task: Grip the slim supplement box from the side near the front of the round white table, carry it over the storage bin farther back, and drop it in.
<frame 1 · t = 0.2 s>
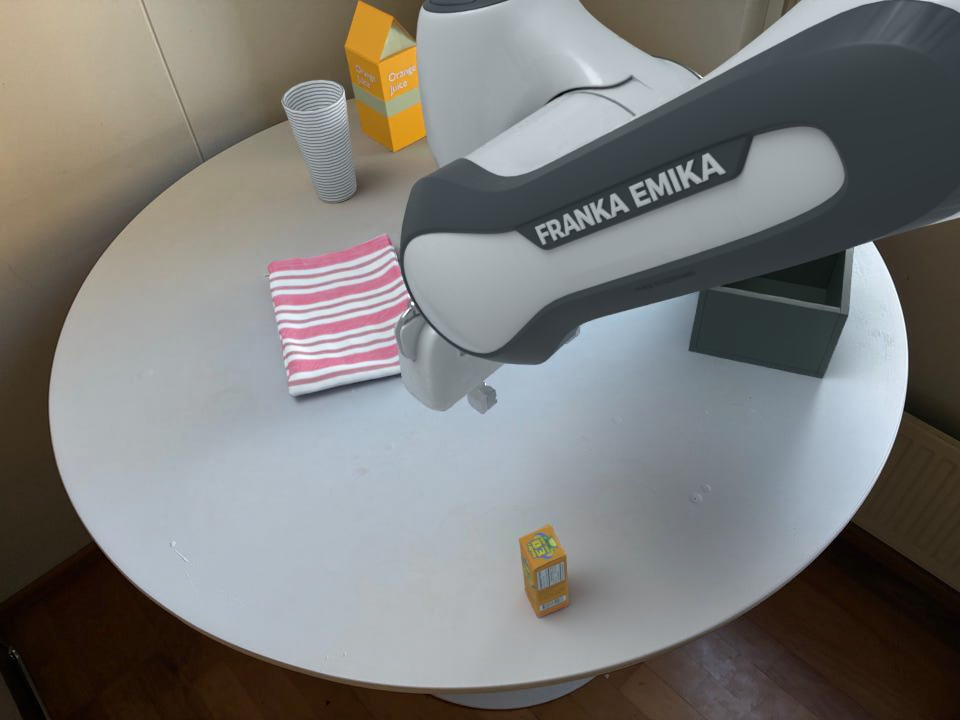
hand: (525, 369, 60), 21 cm above the table, tool pointing down, fingers open, 8 cm apart
supplement box: (545, 599, 69), on the table
storage bin: (761, 320, 90), on the table
stepped white cylinder: (511, 190, 111), on the table
orange juice: (396, 133, 124), on the table
cup: (337, 192, 114), on the table
dish towel: (347, 321, 95), on the table
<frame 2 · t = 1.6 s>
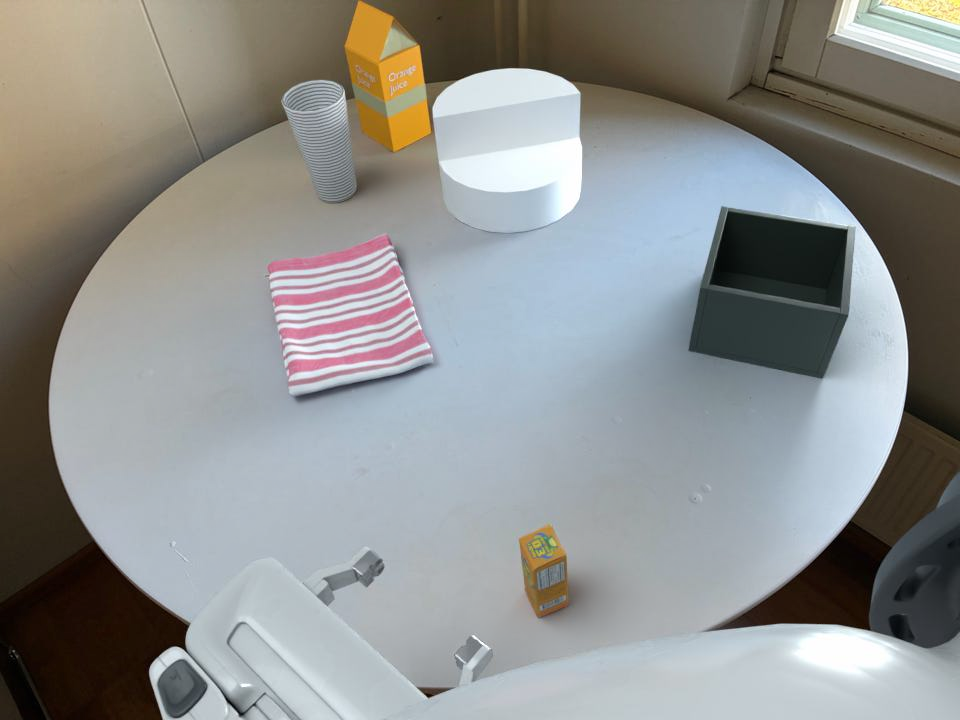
hand: (427, 598, 49), 20 cm above the table, tool horizontal, fingers open, 8 cm apart
nothing on the table moved.
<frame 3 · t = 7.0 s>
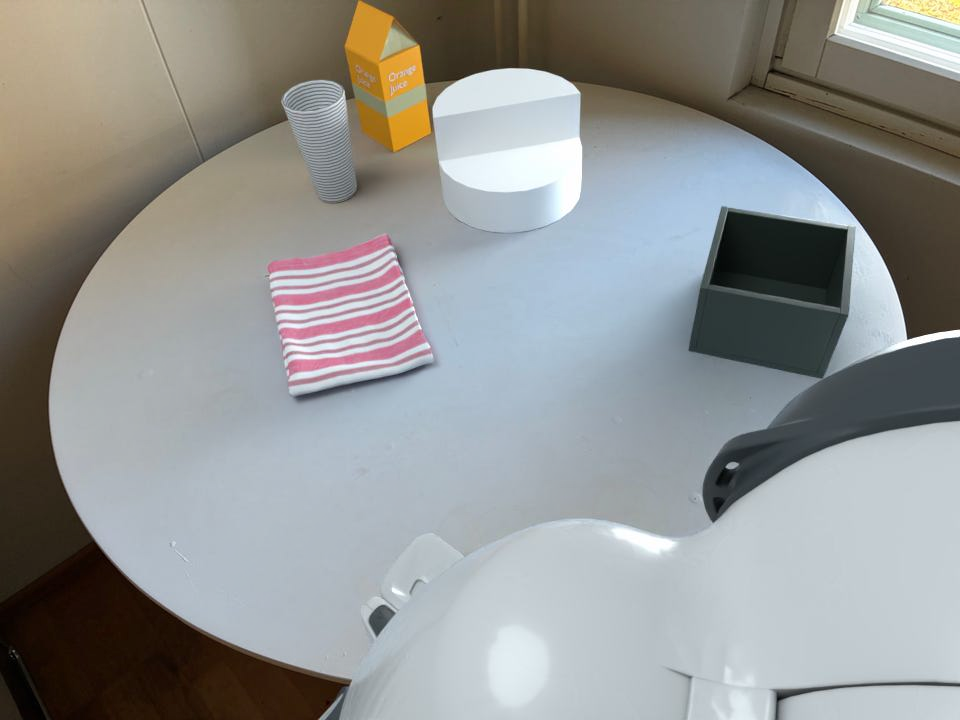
hand: (550, 562, 65), 6 cm above the table, tool horizontal, fingers closed on supplement box, 4 cm apart
supplement box: (545, 599, 69), on the table, touching gripper
everything else where it was.
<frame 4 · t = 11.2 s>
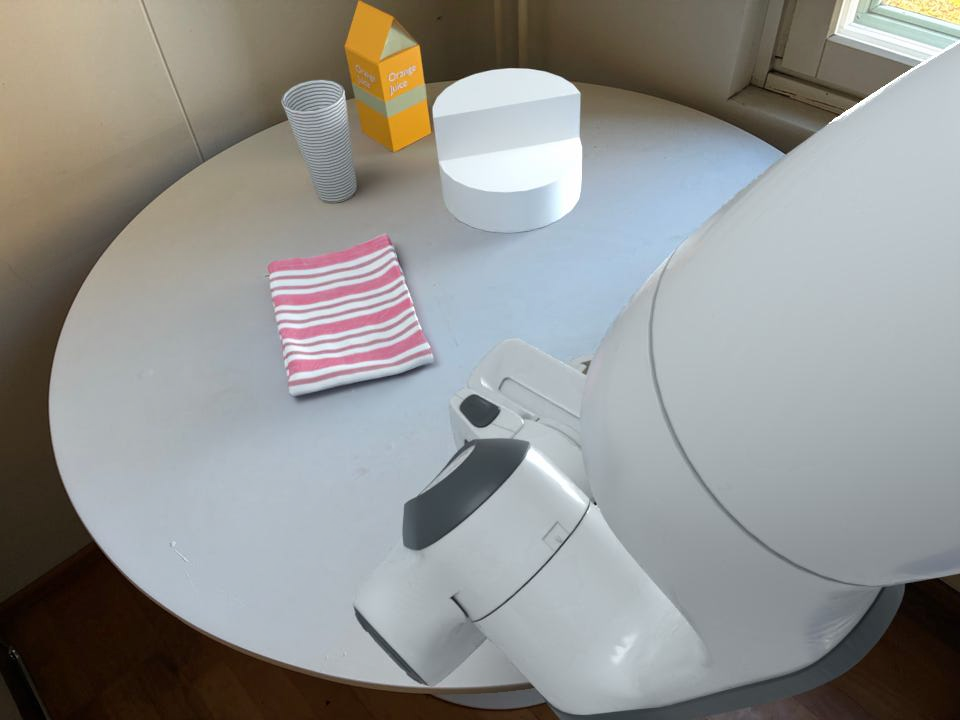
hand: (643, 365, 62), 19 cm above the table, tool horizontal, fingers closed on supplement box, 4 cm apart
supplement box: (631, 416, 66), point 13 cm above the table, touching gripper
everything else where it was.
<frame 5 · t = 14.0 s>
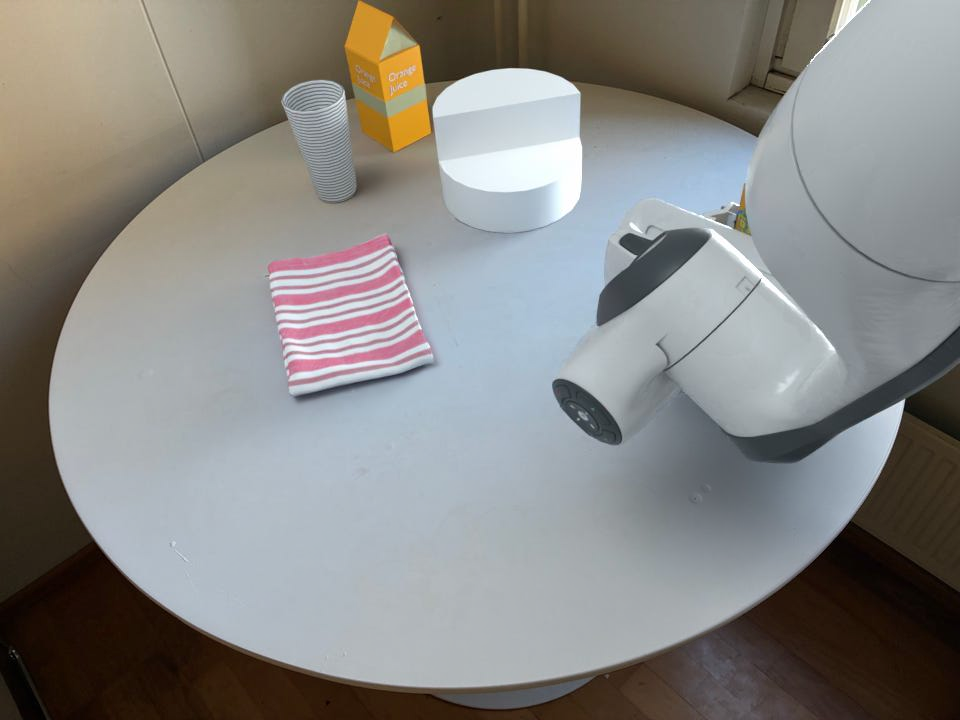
hand: (762, 219, 73), 19 cm above the table, tool horizontal, fingers closed on supplement box, 4 cm apart
supplement box: (746, 270, 77), point 13 cm above the table, touching gripper
everything else where it was.
when the fingers open (15 cm above the table, at t = 15.7 s): supplement box drops 7 cm, resting on storage bin.
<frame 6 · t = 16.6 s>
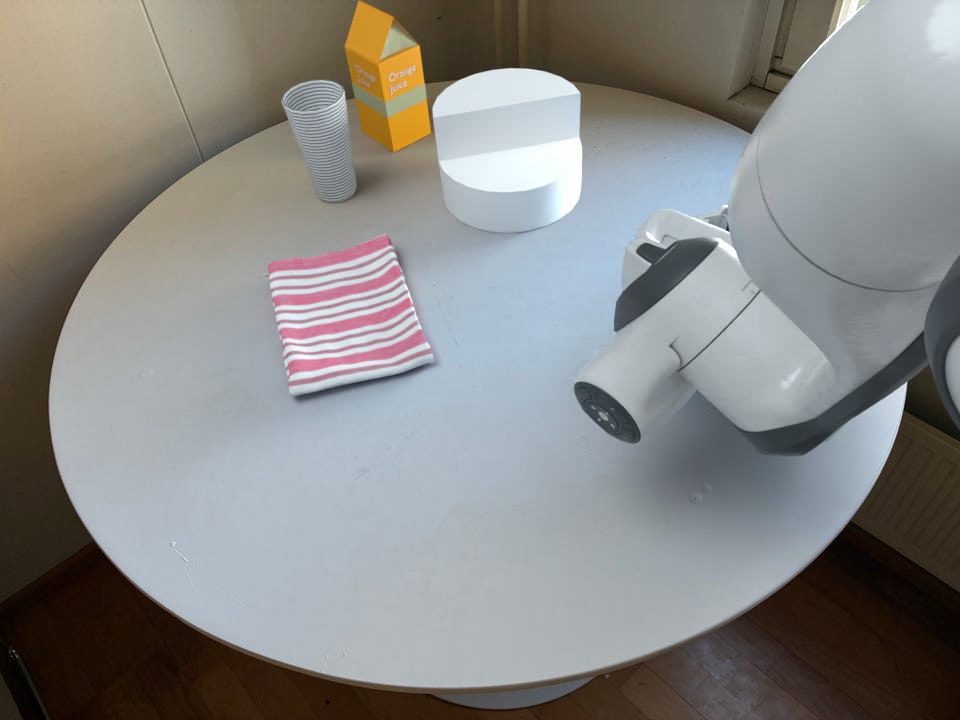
hand: (772, 229, 77), 16 cm above the table, tool horizontal, fingers open, 8 cm apart
supplement box: (728, 324, 87), point 2 cm above the table, touching storage bin
everything else where it was.
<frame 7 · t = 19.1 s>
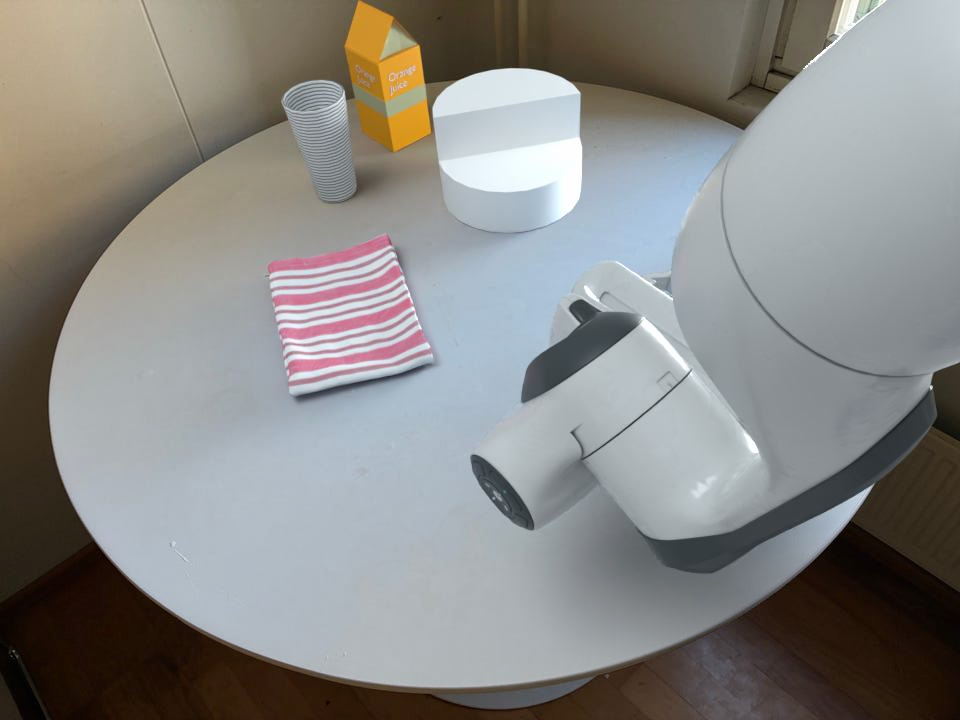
hand: (721, 302, 70), 16 cm above the table, tool horizontal, fingers open, 8 cm apart
nothing on the table moved.
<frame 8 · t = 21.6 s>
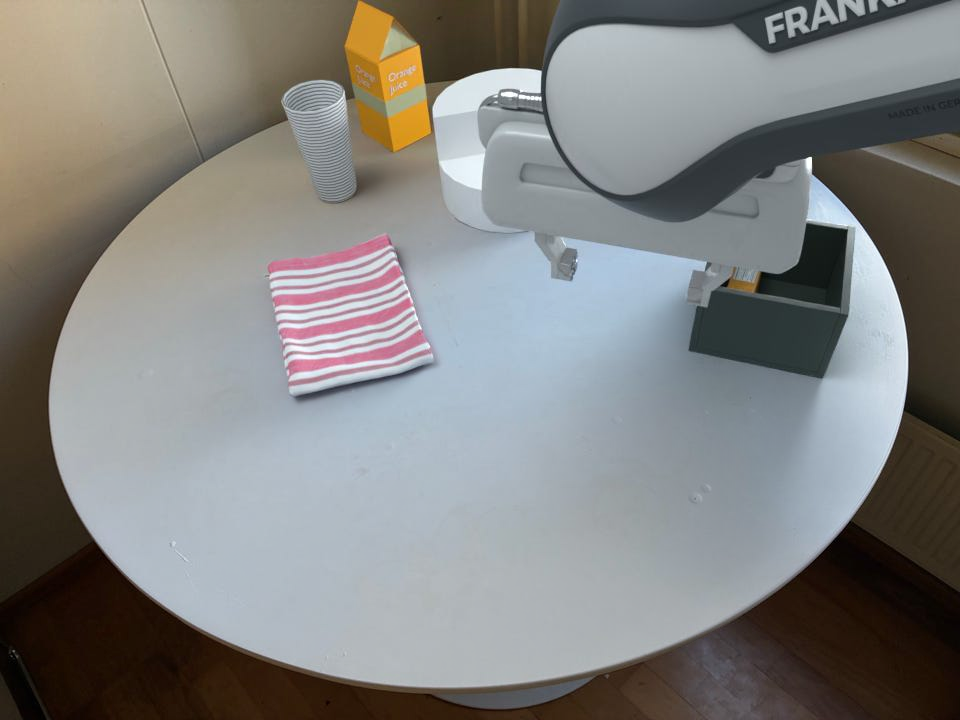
hand: (629, 286, 53), 29 cm above the table, tool pointing down, fingers open, 8 cm apart
nothing on the table moved.
at the end: supplement box inside the target area in the storage bin (5.6 cm from its centre), point 2.4 cm above the storage bin's base; the gripper is holding nothing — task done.
